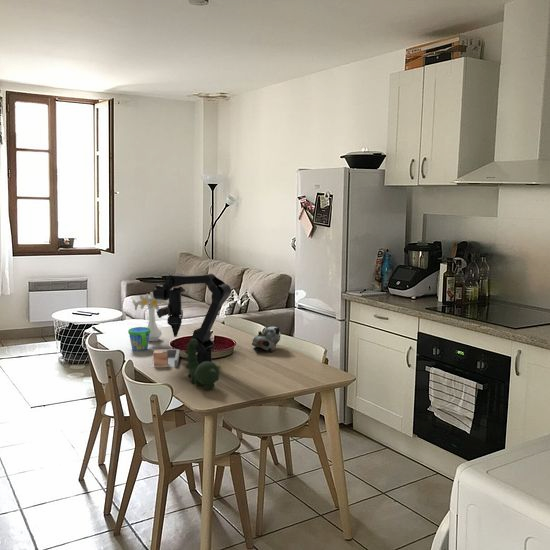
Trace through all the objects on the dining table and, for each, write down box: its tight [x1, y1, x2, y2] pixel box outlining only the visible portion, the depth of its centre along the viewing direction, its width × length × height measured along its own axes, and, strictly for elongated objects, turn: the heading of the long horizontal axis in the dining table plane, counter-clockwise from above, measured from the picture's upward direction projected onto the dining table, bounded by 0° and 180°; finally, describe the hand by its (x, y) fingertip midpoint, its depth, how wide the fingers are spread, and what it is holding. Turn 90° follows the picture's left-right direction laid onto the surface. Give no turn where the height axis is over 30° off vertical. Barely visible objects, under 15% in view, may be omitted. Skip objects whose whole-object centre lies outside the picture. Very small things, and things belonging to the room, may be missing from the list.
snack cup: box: [127, 326, 151, 352], centre depth 303 cm, size 16×10×10 cm
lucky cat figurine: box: [251, 326, 282, 353], centre depth 303 cm, size 15×12×14 cm
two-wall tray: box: [149, 348, 180, 369], centre depth 283 cm, size 12×18×3 cm, turn 6°
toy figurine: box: [184, 338, 220, 390], centre depth 251 cm, size 9×19×25 cm
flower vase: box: [131, 291, 168, 342], centre depth 319 cm, size 13×18×25 cm
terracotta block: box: [152, 349, 168, 366], centre depth 277 cm, size 4×6×6 cm, turn 96°
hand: (175, 334), depth 286 cm, fingers open, 9 cm apart
